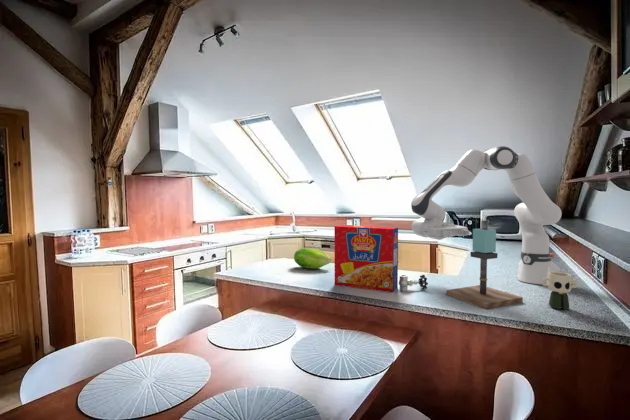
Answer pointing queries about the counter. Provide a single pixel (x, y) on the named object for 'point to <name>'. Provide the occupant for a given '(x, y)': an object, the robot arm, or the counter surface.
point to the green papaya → (311, 258)
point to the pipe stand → (484, 289)
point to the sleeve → (484, 240)
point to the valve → (411, 282)
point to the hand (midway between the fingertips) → (460, 233)
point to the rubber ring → (484, 255)
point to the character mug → (559, 288)
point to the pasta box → (366, 257)
